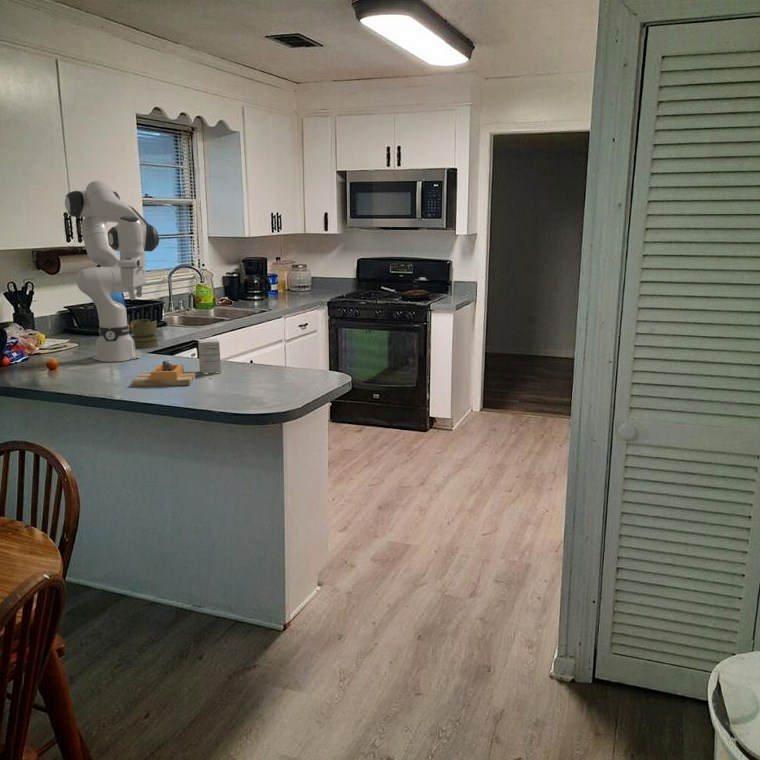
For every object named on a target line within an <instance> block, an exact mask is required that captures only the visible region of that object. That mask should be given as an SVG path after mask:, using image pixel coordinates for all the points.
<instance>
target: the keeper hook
mask: <svg viewBox="0 0 760 760" xmlns="http://www.w3.org/2000/svg"><path fill="white" fill-rule="evenodd" d="M161 362H162V365H163V371H172V369H171V365H172V361H171V360H163V361H161Z"/></svg>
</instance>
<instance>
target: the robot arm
mask: <svg viewBox="0 0 760 760" xmlns="http://www.w3.org/2000/svg"><path fill="white" fill-rule="evenodd" d="M64 207H65V210H66V211H67V213H68V214H69V216H71V217H74V218H83V219H82V221H81V233H82V240H83V243H84V247H85V250H86V254H87V256H88V259H89V260H90V261H91V262H92V263H94V264H95V265H98V267H97V266H92V267H91V266H90V267H87V268H84V269H80V270H79V272H78V273H77V275H76V281H75V282H76V285H77V288H78V289H79V290H80V292H82V293H83V294H85V295H86V296H88V297H89V298H90V299H91V301H92V302H93V303H94V305H95V308H96V311H97V314H98V322H99V323H98V324H99V325H98V334H99V335H98V336H99V337H98V338H97V339H96V342H95V343H96V356H93V360H94V361H95V360H97V361H99V362H104V363H105V362H108V363H109V362H110V363H111V362H112V363H114V362H124V361H130V359H131V360H137V359H136V358H138V359H140V358H141V354H142V352H141V349H136V348H135V342H134V340H133V338H132V336H131V334H130V333H131V330H130V329H131V325H130V324H129V323H128V317H127V308H126V307H125V305H124V304H123V303H122V302H118V301H116V300H113V298H112V296H111V294H118V293H128V295H129V300H131V301H134V300H136V299H137V298H141V297H143V285H144V284H146V282H147V276H146V270H145V266H147V265H146V264H147V263H146V254H145V253H146V252H153V251H154V250H155V249H156V248H157V247H158V246H159V244H160V235H159V233H158V231H157V229H156V228H155V227H154V226H153V225H151V224H150V223H148V222H147V221H146V219H144V218H143V216H142V215H141V214H140V213H139V212H138V211H137V210H136V209H135V208H134V207H133V206H131V205H129V204H127V203H125V202H124V201H123V200H121V197H120V195H119V194H118V193H117V191H114V190H112V189H111V188H110V186H109V185H108V184H106V183H105V182H103V181H101V180H100V181H99V180H94V181H91V182H89V183H88V184H87V186H86V187H85V190H73V191H70V192H68V193H67V194H66V195H65V199H64ZM108 223H115V224H116V223H117V224H116V225H115V226H112V227H111V228H110V229H109V227H108ZM118 252H119V254H118ZM135 290H136V292H135ZM139 357H140V358H139Z"/></svg>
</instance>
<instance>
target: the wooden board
mask: <svg viewBox="0 0 760 760" xmlns="http://www.w3.org/2000/svg"><path fill="white" fill-rule="evenodd" d="M195 377H196V378H197V371H184V372H183V374H182V375H181V376H180V377H179V378H178V379H177V380H151V372H140V374H139V375H138V376H136V377H135V378H134V379H133V380H132V381H131V382H132V383H131V384H132V385H131V386H132V387H133V386H145V387H170V386H169V385H190V386H191V384H192V383H193V382H194V381H193V379H194V378H195ZM196 378H195V379H196ZM195 379H194V380H195ZM192 381H193V382H192ZM191 382H192V383H191ZM190 383H191V384H190Z"/></svg>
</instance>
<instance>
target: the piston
mask: <svg viewBox="0 0 760 760" xmlns="http://www.w3.org/2000/svg"><path fill="white" fill-rule="evenodd" d="M157 328H158V327H157V320H153V321H151V320H150V319H147V318H146V319H145V318H143V319H133V320H131V321H130V333H131V334H130V335H132V336H131V337H132V338H133V340H134V342H135V348H139V349H138V350H146V349H154V348H158V347H159V341H158V335H157V333H158V330H157Z"/></svg>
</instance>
